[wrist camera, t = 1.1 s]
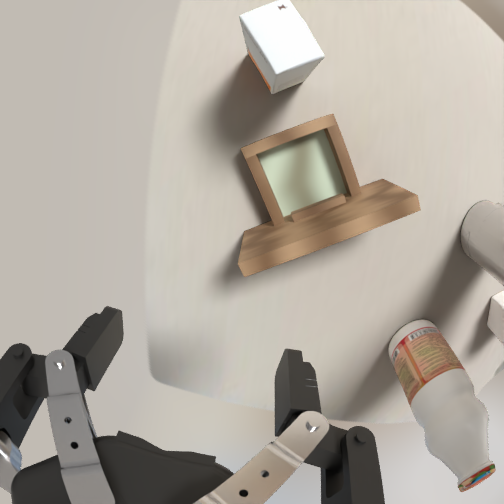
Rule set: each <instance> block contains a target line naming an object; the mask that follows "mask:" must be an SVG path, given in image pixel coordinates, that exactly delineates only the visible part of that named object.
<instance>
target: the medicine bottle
mask: <svg viewBox="0 0 504 504" xmlns="http://www.w3.org/2000/svg"><path fill="white" fill-rule="evenodd" d="M487 326H488V327H489V328H490V329H491V331H492V332H493V333H494V334H495V335H496V337H497V338H498V339H499V340H500V341H501V343H502V344H503V345H504V290H503V291H501V292H499V293H497V294H496V295H494V296H492V297H491V304H490V311H489V316H488V322H487Z"/></svg>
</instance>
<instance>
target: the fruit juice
mask: <svg viewBox="0 0 504 504" xmlns="http://www.w3.org/2000/svg"><path fill="white" fill-rule="evenodd" d="M388 351H389V357H390V360H391V362H392V364H393V366H394V369H395V371H396V373H397V376H398V378H399V380H400V383H401V385H402V387H403V390H404V392H405V395H406V397H407V399H408V402H409V404H410V407H411V410H412V412H413V415H414V417H415V419H416V420H417V422H418V423H419V425H421V426H422V427H423V428H424V431H425V443H426V446H427V449H428V451H429V452H430V453H431V454H432V455H433V456H435V457H437V458H438V459H440V460H441V461H442V462H443V463H444V464H445V465H446V466H447V467H448V468H449V469H450V470H451V471H452V472H453V473H454V474H455V475H456V476H457V477H458V480H459V481H458V488H459V490H460V491H461V492H464V491H466V490H468V489H470V488H472V487H474V486H476V485H478V484H479V483H481V482H482V481H484V480H485V479H487V478H488V477H489V476H491V475H492V474H493V473H494V472H495V470H496V469H495V465H494V464H493V461H490V460H489V452H488V450H489V449H488V421H489V415H488V411H487V409H486V407H485V405H484V404H483V403H482V402H481V401H480V400H479V399H478V398H476V396H475V394H474V386H473V384H472V381H471V379H470V377H469V375H468V374H467V372H466V371H465V369H464V368H463V366H462V364H461V363H460V361H459V360H458V358H457V357H456V355H455V354H454V352H453V350H452V349H451V347H450V346H449V344H448V343H447V342H446V340H445V339H444V337H443V336H442V334H441V333H440V331H439V330H438V328H437V327H436V326H435V325H434V324H433V323H432V322H430V321H428V320H416V321H413V322H410V323H408V324H406V325H405V326H403V327H402V328H401V329H400V330H399V331H398V332H397V333H396V334H395V335H394V336H393V338H392V340H391V341H390V344H389V349H388Z"/></svg>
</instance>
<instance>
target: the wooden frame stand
mask: <svg viewBox="0 0 504 504" xmlns="http://www.w3.org/2000/svg"><path fill="white" fill-rule="evenodd" d="M241 150H242V153H243V155H244V157H245V159H246V162H247V164H248V166H249V168H250V171H251V173H252V175H253V177H254V180H255V182H256V184H257V187H258V189H259V191H260V193H261V196H262V198H263V200H264V203H265V205H266V207H267V210H268V212H269V214H270V217H271V219H272V221H269V222H267V223H264V224H261V225H259V226H256V227H254V228H251V229H249V230H246V231H244V235H243V240H242V245H241V250H240V255H239V260H238V265H239V267H240V269H241V271H242V273H243V275H244V277H246V276H249V275H252V274H255V273H257V272H260V271H263V270H266V269H268V268H271V267H274V266H276V265H279V264H282V263H285V262H287V261H290V260H293V259H295V258H298V257H301V256H304V255H306V254H309V253H312V252H314V251H317V250H320V249H322V248H325V247H327V246H330V245H333V244H335V243H338V242H341V241H343V240H346V239H348V238H351V237H354V236H356V235H359V234H361V233H364V232H367V231H369V230H372V229H374V228H377V227H379V226H382V225H384V224H387V223H390V222H392V221H395V220H397V219H400V218H402V217H405V216H407V215H410V214H412V213H415V212H417V211H420V205H419V200H418V195H416V194H414V193H412V192H410V191H408V190H406V189H403V188H401V187H399V186H397V185H395V184H393V183H391V182H389V181H386V180H384V179H381V180H378V181H375V182H372V183H370V184H367V185H364V186H361V187H359V183H358V180H357V177H356V174H355V171H354V168H353V165H352V162H351V159H350V157H349V154H348V151H347V148H346V145H345V143H344V140H343V137H342V135H341V132H340V130H339V127H338V124H337V122H336V119H335V117H334V114H330V115H327V116H324V117H321V118H318V119H315V120H312V121H309V122H306V123H304V124H301V125H298V126H295V127H293V128H290V129H287V130H285V131H282V132H279V133H277V134H274V135H272V136H269V137H267V138H264V139H262V140H259V141H257V142H254V143H252V144H249V145H247V146H245V147H242V148H241Z"/></svg>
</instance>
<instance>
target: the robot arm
mask: <svg viewBox="0 0 504 504" xmlns="http://www.w3.org/2000/svg"><path fill="white" fill-rule="evenodd" d="M461 245H462V248H463V251H464V252H465V254H466V255H468V256H469V257H470V258H471V259H472V260H474V261H475V262H476V263H477V264H479V265H480V266H481V267H482V268H483V269H484V270H486V271H487V272H488V273H489V274H490V275H492V276H493V277H494V278H495V279H496V280H497V281H499V282H500V283H501V284H502V285H503V286H504V205H502V204H500V203H497V204H494V203H492V202H490V201H481V202H478V203H477V204H475V205H474V206H473V207H472V208H471V209H470V210H469V212H468V214H467V215H466V217H465V219H464V222H463V225H462V229H461ZM122 341H123V320H122V311H121V310H118V309H115V308H112V307H109V306H107V307H105V308H104V310H103V311H102V312H101V314H97V313H95V314H93V315H91V316H90V317H88V318H87V319H86V320H85V321H84V323H83V324H82V326H81V327H80V328H79V329H78V331H77V332H76V333H75V334H74V335H73V337H72V338H71V339H70V340H69V342H68V343H67V344H66V346H65V347H64V348H63V349H62V350H55V351H52V352H51V353H49V354H48V355H47V356H44V355H37V354H32V352H31V350H30V348H29V347H28V346H27V345H25V344H22V343H19V344H14V345H12V346H11V347H10V348H9V349H8V350H7V351H6V353H5V354H4V356H3V357H2V358H1V359H0V487H2V488H3V489H4V490H6V491H7V492H9V493H10V494H11V497H12V504H263V503H265V501H267V500H268V499H269V498H270V497H271V496H272V495H273V494H274V493H275V492H276V491H277V490H278V489H279V488H280V487H281V485H283V483H284V482H285V481H286V480H287V479H288V478H289V477H290V476H291V475H292V474H293V473H294V472H295V470H296V469H297V468H298V467H299V466H300V465H301V464H302V462H305V463H307V464H311V465H314V466H317V467H320V468H321V504H385V501H384V494H383V486H382V479H381V472H380V465H379V460H378V453H377V447H376V442H375V437H374V435H373V433H372V432H371V431H370V430H369V429H367V428H365V427H362V426H355V427H352V428H350V429H349V430H348V431H347V430H344V429H340V428H337V427H335V426H332V425H330V424H329V423H328V420H327V419H326V417H325V416H324V415H322V413H321V407H320V400H319V393H318V388H317V381H316V373H315V370H314V368H313V367H312V365H311V364H310V363H309V362H303V358H302V352H301V351H299V350H292V349H285V351H284V353H283V356H282V358H281V361H280V363H279V366H278V368H277V371H276V375H275V436H278V438H277V439H276V440H275V441H274V442H271V443H269V444H268V445H267V446H266V447H264V448H263V449H262V450H261V451H260V452H259V453H258V454H257V455H256V456H255V457H253V458H252V459H251V460H250V461H249V462H248V463H247V464H245V465H244V466H243V467H242V468H241V469H240V470H239V471H237V472H236V473H235V474H233V473H232V472H231V471H230V470H228V469H227V468H226V467H224V466H222V465H220V464H218V463H215V459H216V457H215V456H209V455H205V454H200V453H195V452H179V451H165V450H162V449H160V448H158V447H156V446H154V445H152V444H151V443H149V442H147V441H145V440H144V439H141V438H139V437H136V436H133V435H130V434H127V433H124V432H121V431H118V434H117V436H101V437H97V435H96V432H95V430H94V427H93V424H92V420H91V417H90V414H89V410H88V407H87V403H86V399H85V395H84V393H85V391H86V389H90V390H92V391H95V389H96V388H97V386H98V384H99V382H100V380H101V378H102V377H103V375H104V373H105V371H106V370H107V368H108V366H109V365H110V363H111V361H112V359H113V357H114V356H115V354H116V353H117V351H118V349H119V348H120V346H121V344H122ZM44 398H47V405H48V411H49V416H50V422H51V427H52V432H53V437H54V441H55V445H56V450H57V454H58V455H56V456H53V457H51V458H49V459H46V460H44V461H41V462H39V463H36V464H34V465H31V466H29V467H26V468H24V469H22V470H21V468H20V467H21V460H22V455H21V452H20V450H19V447H20V445H21V443H22V440H23V438H24V436H25V434H26V432H27V430H28V428H29V426H30V424H31V422H32V420H33V418H34V416H35V414H36V413H37V411H38V409H39V407H40V405H41V403H42V402H43V400H44Z"/></svg>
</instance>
